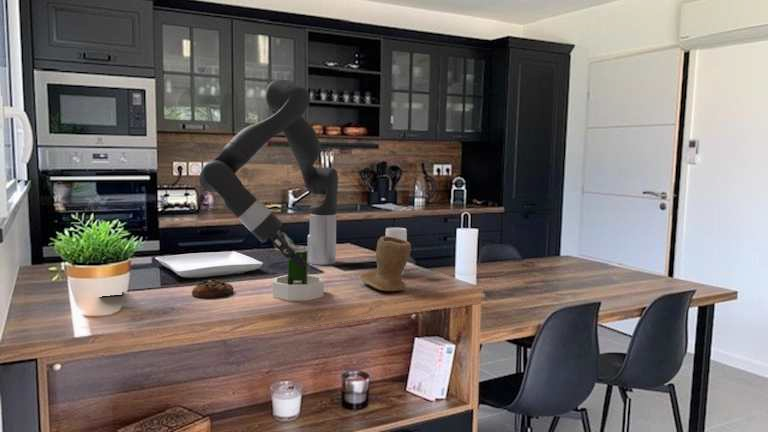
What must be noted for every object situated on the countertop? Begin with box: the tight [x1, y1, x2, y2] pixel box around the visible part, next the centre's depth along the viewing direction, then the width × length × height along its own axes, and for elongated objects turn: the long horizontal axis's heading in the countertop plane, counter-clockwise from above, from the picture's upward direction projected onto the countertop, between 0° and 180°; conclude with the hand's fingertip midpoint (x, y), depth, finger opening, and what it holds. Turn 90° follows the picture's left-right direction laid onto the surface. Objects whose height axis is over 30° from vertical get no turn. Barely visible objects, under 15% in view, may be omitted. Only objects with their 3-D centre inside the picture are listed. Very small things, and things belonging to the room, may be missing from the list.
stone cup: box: [358, 235, 412, 292], centre depth 166 cm, size 15×12×15 cm
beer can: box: [287, 245, 308, 285], centre depth 156 cm, size 5×5×12 cm
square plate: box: [154, 250, 264, 279], centre depth 187 cm, size 27×27×4 cm
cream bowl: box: [272, 273, 325, 302], centre depth 157 cm, size 13×13×4 cm
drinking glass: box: [385, 227, 408, 276], centre depth 183 cm, size 7×7×15 cm
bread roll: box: [191, 278, 234, 299], centre depth 155 cm, size 11×11×5 cm
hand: (303, 262), depth 156 cm, fingers open, 8 cm apart
